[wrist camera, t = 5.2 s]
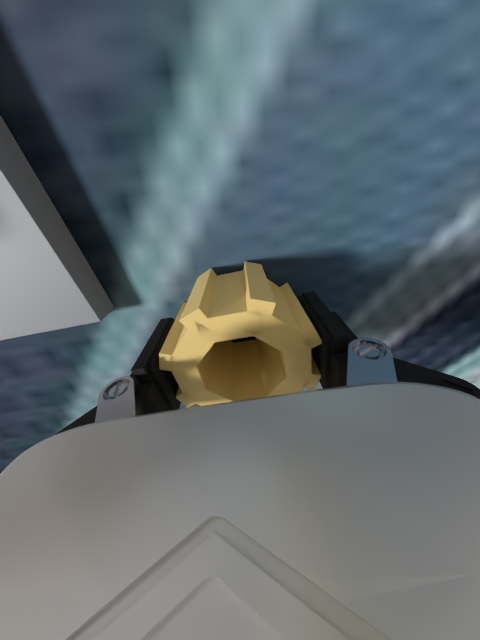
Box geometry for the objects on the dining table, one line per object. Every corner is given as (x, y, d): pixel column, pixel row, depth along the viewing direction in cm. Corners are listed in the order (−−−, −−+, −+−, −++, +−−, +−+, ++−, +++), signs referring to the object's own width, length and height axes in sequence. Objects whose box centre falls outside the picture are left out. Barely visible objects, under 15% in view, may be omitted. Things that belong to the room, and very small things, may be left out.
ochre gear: (291, 251, 11) (324, 284, 7) (297, 350, 14) (321, 409, 10) (167, 276, 11) (131, 320, 7) (202, 365, 15) (191, 427, 11)
